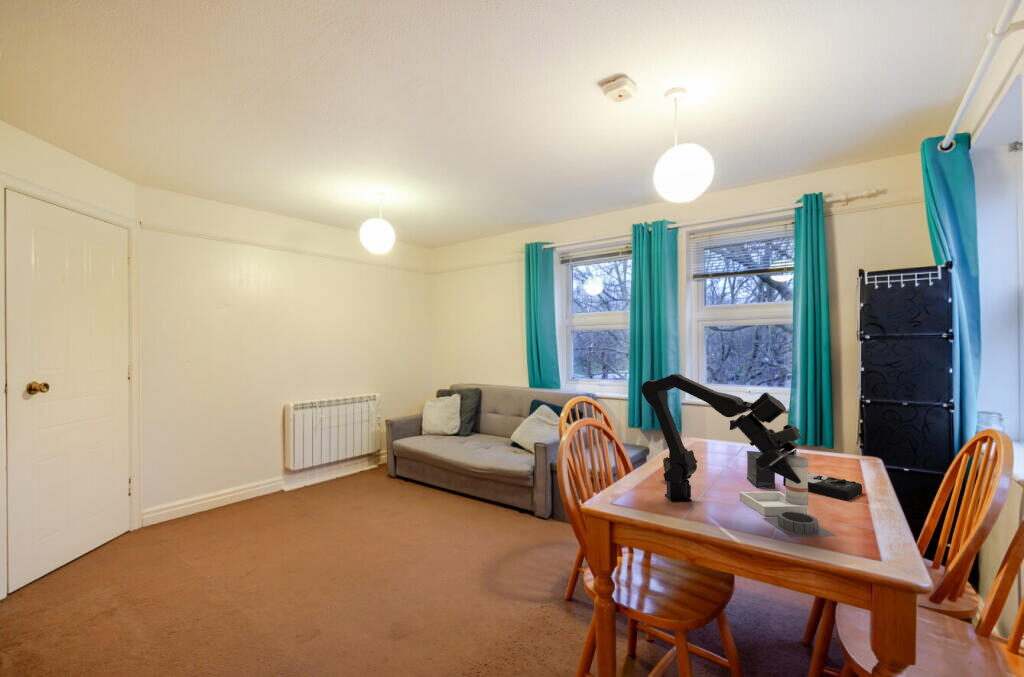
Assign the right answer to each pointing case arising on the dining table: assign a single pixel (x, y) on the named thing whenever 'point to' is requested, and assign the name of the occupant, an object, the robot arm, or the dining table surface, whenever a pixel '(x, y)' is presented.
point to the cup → (666, 464)
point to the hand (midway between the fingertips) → (802, 480)
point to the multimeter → (832, 487)
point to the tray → (769, 503)
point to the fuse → (794, 491)
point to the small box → (759, 472)
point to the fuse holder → (798, 524)
